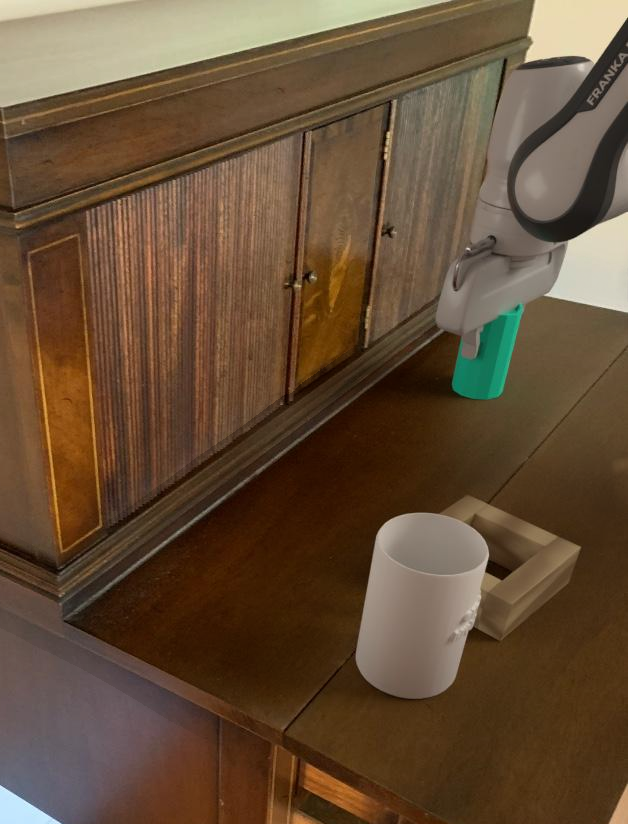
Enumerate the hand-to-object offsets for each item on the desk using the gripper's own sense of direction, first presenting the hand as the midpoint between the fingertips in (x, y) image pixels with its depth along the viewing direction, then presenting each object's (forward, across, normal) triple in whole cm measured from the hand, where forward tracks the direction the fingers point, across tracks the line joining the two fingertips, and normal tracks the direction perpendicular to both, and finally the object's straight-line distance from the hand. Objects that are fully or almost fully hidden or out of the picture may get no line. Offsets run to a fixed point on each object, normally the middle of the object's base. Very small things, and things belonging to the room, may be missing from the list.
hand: (486, 348), depth 108 cm
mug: (+5, -45, -22) cm, 50 cm away
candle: (+5, 0, 0) cm, 5 cm away
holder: (+5, -33, -21) cm, 39 cm away
